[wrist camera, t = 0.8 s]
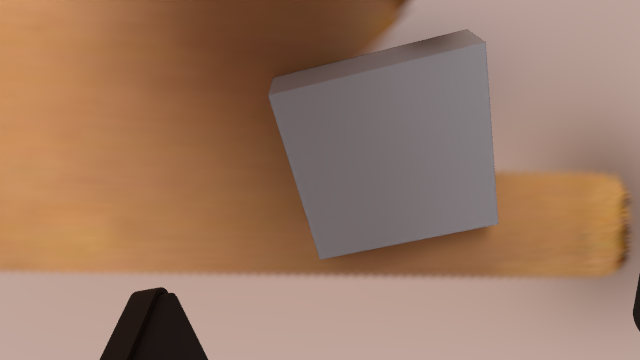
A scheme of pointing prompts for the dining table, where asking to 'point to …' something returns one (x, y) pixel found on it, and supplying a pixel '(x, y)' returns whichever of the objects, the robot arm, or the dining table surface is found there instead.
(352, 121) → the stand
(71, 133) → the dining table surface
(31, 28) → the dining table surface
